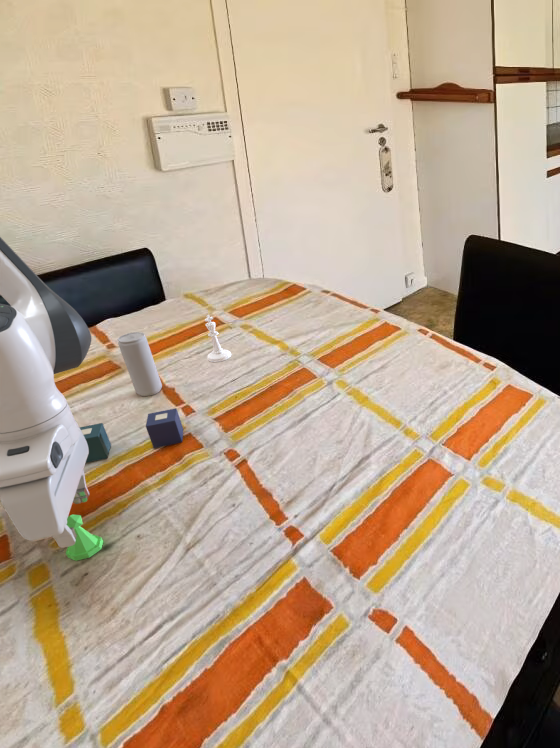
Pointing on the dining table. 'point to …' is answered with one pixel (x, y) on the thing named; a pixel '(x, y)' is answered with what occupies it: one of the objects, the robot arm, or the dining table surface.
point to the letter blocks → (159, 426)
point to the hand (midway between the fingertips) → (76, 520)
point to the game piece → (82, 540)
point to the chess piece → (215, 344)
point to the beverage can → (140, 363)
